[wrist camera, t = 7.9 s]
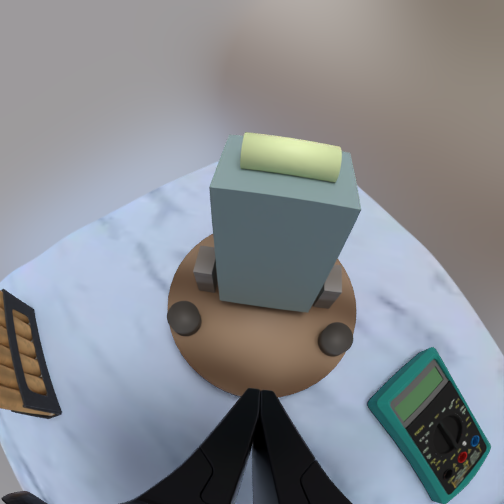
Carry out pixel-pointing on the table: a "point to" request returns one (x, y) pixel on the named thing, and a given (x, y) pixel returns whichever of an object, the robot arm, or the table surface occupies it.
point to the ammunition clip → (23, 362)
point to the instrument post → (280, 218)
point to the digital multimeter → (432, 425)
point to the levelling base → (257, 330)
